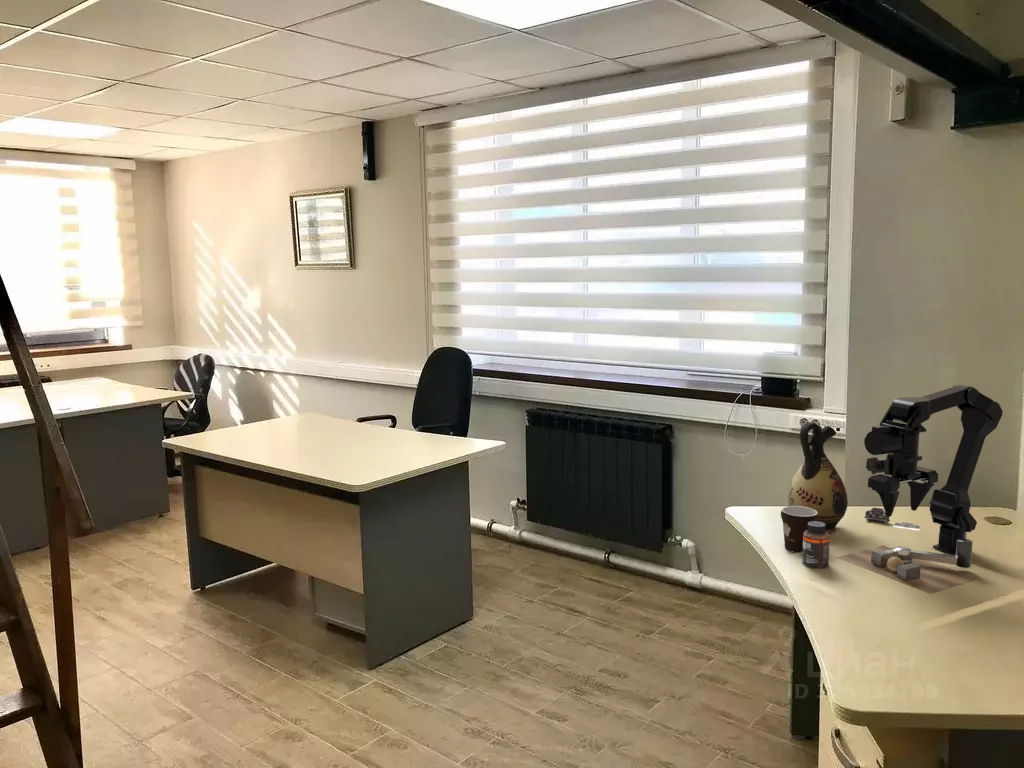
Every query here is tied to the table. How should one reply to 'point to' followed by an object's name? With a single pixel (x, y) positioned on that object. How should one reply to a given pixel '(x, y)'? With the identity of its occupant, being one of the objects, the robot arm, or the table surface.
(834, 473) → the ceramic jug
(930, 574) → the board
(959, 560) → the lever
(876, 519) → the car cutout
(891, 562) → the tan ball
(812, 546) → the supplement bottle
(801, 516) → the coffee mug
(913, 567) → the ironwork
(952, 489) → the robot arm
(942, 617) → the table surface
